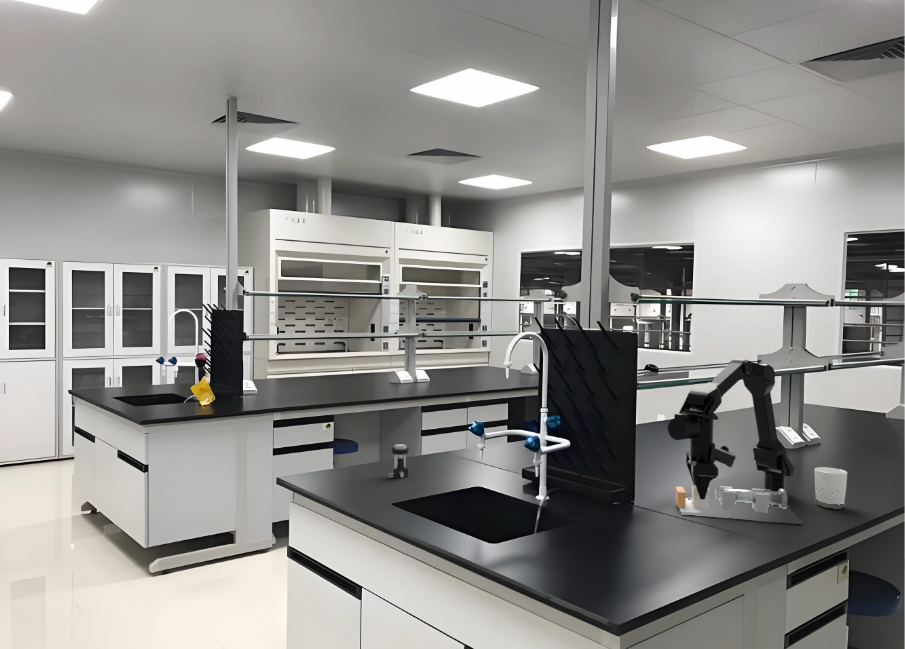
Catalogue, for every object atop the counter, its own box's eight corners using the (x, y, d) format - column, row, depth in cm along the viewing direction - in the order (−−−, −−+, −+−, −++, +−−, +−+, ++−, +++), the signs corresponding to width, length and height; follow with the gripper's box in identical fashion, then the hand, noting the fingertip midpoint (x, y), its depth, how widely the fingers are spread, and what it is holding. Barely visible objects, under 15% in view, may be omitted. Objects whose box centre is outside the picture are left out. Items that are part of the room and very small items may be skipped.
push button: (392, 480, 204) (393, 448, 204) (384, 476, 209) (384, 444, 209) (411, 477, 208) (412, 445, 208) (402, 474, 213) (403, 442, 212)
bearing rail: (673, 500, 188) (674, 479, 188) (787, 509, 181) (788, 487, 181) (678, 515, 174) (679, 492, 174) (802, 525, 168) (802, 501, 168)
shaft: (714, 500, 181) (714, 482, 181) (782, 505, 178) (782, 486, 177) (717, 505, 177) (717, 486, 176) (787, 511, 173) (787, 491, 173)
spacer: (691, 503, 182) (691, 484, 182) (706, 504, 181) (707, 485, 181) (693, 507, 178) (693, 488, 178) (709, 508, 177) (709, 489, 177)
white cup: (846, 505, 187) (847, 469, 187) (846, 512, 180) (847, 475, 180) (814, 500, 191) (815, 465, 191) (813, 507, 184) (814, 471, 184)
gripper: (740, 445, 169) (738, 506, 169) (727, 432, 187) (726, 488, 187) (693, 442, 171) (692, 503, 171) (685, 430, 189) (684, 485, 190)
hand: (700, 494), depth 180 cm, fingers open, 9 cm apart
